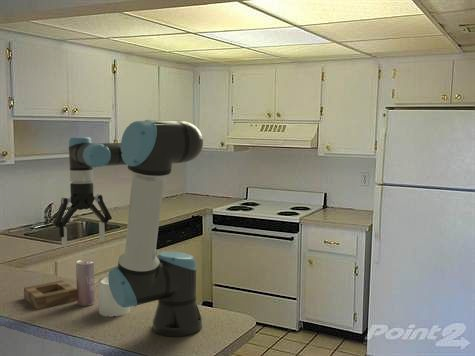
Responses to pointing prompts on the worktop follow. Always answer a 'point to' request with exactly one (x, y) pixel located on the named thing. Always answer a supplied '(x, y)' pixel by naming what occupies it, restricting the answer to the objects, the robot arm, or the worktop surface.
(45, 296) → the socket block
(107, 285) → the mug
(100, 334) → the worktop surface
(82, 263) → the beverage can
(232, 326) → the worktop surface
